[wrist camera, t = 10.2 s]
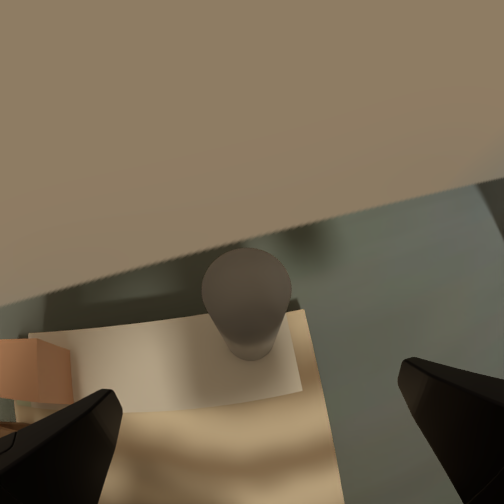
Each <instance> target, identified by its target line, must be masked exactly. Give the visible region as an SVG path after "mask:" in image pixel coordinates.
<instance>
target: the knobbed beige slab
mask: <svg viewBox="0 0 504 504" xmlns="http://www.w3.org/2000/svg"><path fill="white" fill-rule="evenodd" d="M201 291H202V299H203V303H204V306H205V308H206V310H207V312H208V314H202V315H195V316H188V317H181V318H174V319H167V320H159V321H152V322H144V323H136V324H127V325H118V326H109V327H99V328H89V329H78V330H67V331H54V332H40V333H28V339H2V340H0V397H1V398H7V399H14V400H21V401H30V402H31V407H33V408H41V409H51V410H61V409H63V408H65V407H67V406H69V405H71V404H73V403H75V402H77V401H79V400H81V399H82V398H84V397H86V396H88V395H90V394H92V393H94V392H96V391H98V390H100V389H112V390H113V391H114V392H115V394H116V396H117V398H118V400H119V402H120V404H121V406H122V409H123V413H131V412H159V411H174V410H186V409H197V408H206V407H215V406H222V405H230V404H237V403H243V402H249V401H255V400H261V399H266V398H271V397H276V396H281V395H286V394H291V393H295V392H300V391H303V390H302V385H301V381H300V376H299V371H298V366H297V362H296V357H295V353H294V348H293V343H292V339H291V334H290V330H289V325H288V321H287V316H286V310H287V308H288V305H289V302H290V298H291V281H290V278H289V275H288V273H287V271H286V269H285V267H284V266H283V265H282V263H281V262H280V261H279V260H278V259H277V258H275V257H274V256H272V255H271V254H269V253H267V252H265V251H262V250H259V249H254V248H239V249H235V250H231V251H229V252H226V253H224V254H223V255H221V256H220V257H218V258H217V259H216V260H215V261H214V262H213V263H212V264H211V265H210V266H209V268H208V269H207V271H206V273H205V275H204V278H203V282H202V289H201Z"/></svg>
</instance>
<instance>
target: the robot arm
mask: <svg viewBox="0 0 504 504" xmlns="http://www.w3.org/2000/svg"><path fill="white" fill-rule="evenodd" d="M398 386H399V388H400V390H401V393H402V395H403V397H404V399H405V401H406V403H407V405H408V408H409V410H410V412H411V414H412V416H413V418H414V420H415V421H416V423H417V425H418V426H419V428H420V430H421V431H422V433H423V435H424V436H425V438H426V439H427V441H428V443H429V444H430V446H431V448H432V449H433V451H434V453H435V454H436V456H437V458H438V460H439V461H440V463H441V465H442V466H443V468H444V470H445V472H446V473H447V475H448V477H449V479H450V480H451V482H452V484H453V486H454V487H455V489H456V491H457V493H458V495H459V496H460V498H461V500H462V502H463V504H504V380H503V379H499V378H494V377H490V376H486V375H482V374H477V373H473V372H469V371H465V370H461V369H457V368H454V367H450V366H446V365H442V364H438V363H435V362H431V361H427V360H424V359H420V358H417V357H411V358H408V359H405V360H403V362H402V364H401V368H400V372H399V376H398ZM122 416H123V409H122V406H121V404H120V402H119V400H118V398H117V396H116V394H115V392H114V391H113V390H112V389H100V390H98V391H96V392H94V393H92V394H90V395H88V396H86V397H84V398H82V399H81V400H79V401H77V402H75V403H73V404H71V405H69V406H67V407H65V408H63V409H61V410H59V411H57V412H55V413H53V414H51V415H49V416H47V417H45V418H43V419H41V420H39V421H37V422H34V423H32V424H30V425H28V426H26V427H24V428H22V429H20V430H18V431H17V432H16V431H14V432H12V433H10V434H8V435H6V436H3V437H1V438H0V504H98V502H99V499H100V495H101V492H102V489H103V486H104V482H105V479H106V476H107V473H108V470H109V467H110V464H111V461H112V458H113V455H114V452H115V448H116V444H117V440H118V435H119V430H120V425H121V420H122Z"/></svg>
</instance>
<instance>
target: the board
mask: <svg viewBox="0 0 504 504" xmlns="http://www.w3.org/2000/svg"><path fill="white" fill-rule="evenodd" d="M286 316H287V321H288V325H289V330H290V334H291V339H292V343H293V348H294V353H295V357H296V362H297V366H298V371H299V376H300V381H301V385H302V390H303V391H300V392H295V393H291V394H286V395H281V396H276V397H271V398H266V399H261V400H255V401H249V402H243V403H237V404H230V405H222V406H215V407H206V408H197V409H186V410H174V411H159V412H131V413H123V416H122V420H121V425H120V430H119V435H118V440H117V444H116V448H115V452H114V455H113V458H112V461H111V464H110V467H109V470H108V473H107V476H106V479H105V482H104V486H103V489H102V492H101V495H100V499H99V502H98V504H344V499H343V493H342V487H341V481H340V476H339V470H338V465H337V459H336V454H335V449H334V444H333V438H332V433H331V428H330V423H329V418H328V414H327V409H326V404H325V399H324V395H323V390H322V385H321V381H320V376H319V372H318V367H317V363H316V358H315V354H314V349H313V345H312V341H311V336H310V332H309V328H308V324H307V320H306V315H305V311H304V309H301V310H296V311H291V312H286ZM14 405H15V414H16V422H24V423H29V424H32V423H34V422H37V421H39V420H41V419H43V418H45V417H47V416H49V415H51V414H53V413H55V412H57V411H59V410H51V409H41V408H33V407H31V402H30V401H21V400H14Z"/></svg>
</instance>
